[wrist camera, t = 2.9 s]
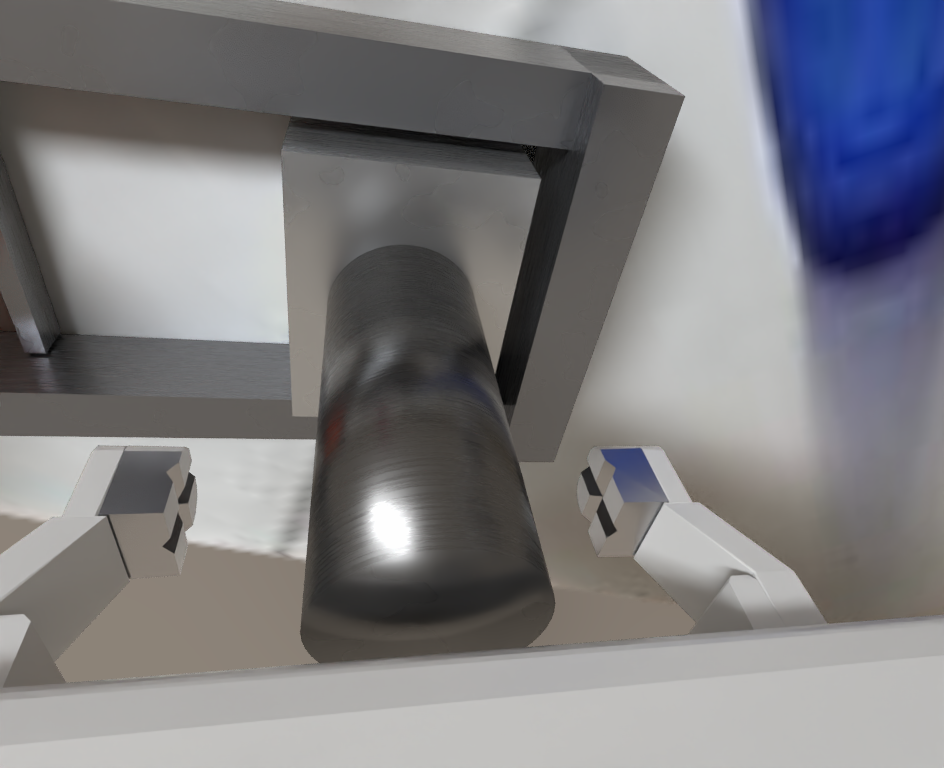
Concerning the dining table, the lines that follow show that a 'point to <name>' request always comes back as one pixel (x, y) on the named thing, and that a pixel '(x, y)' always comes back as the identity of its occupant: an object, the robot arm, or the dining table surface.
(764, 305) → the dining table surface
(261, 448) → the dining table surface
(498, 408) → the ram
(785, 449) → the dining table surface
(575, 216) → the press
